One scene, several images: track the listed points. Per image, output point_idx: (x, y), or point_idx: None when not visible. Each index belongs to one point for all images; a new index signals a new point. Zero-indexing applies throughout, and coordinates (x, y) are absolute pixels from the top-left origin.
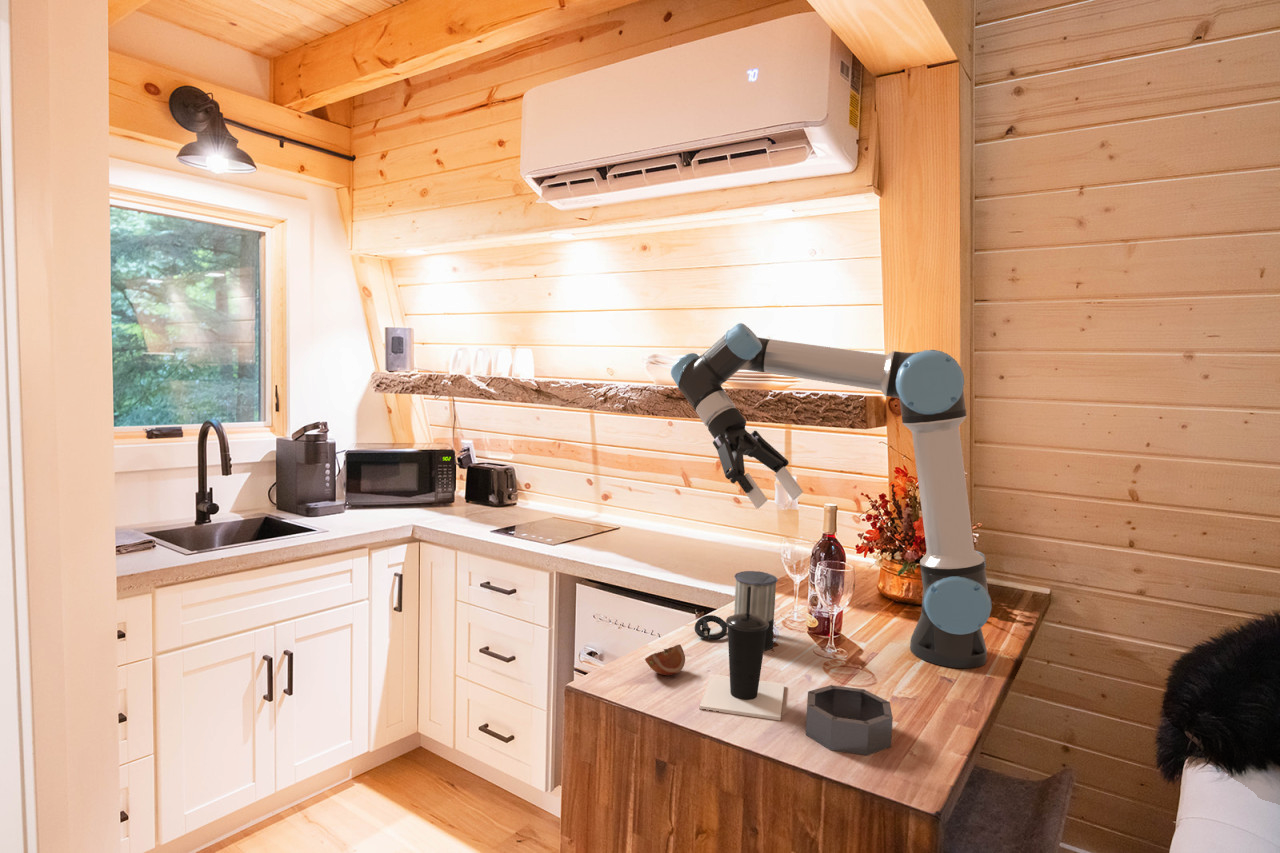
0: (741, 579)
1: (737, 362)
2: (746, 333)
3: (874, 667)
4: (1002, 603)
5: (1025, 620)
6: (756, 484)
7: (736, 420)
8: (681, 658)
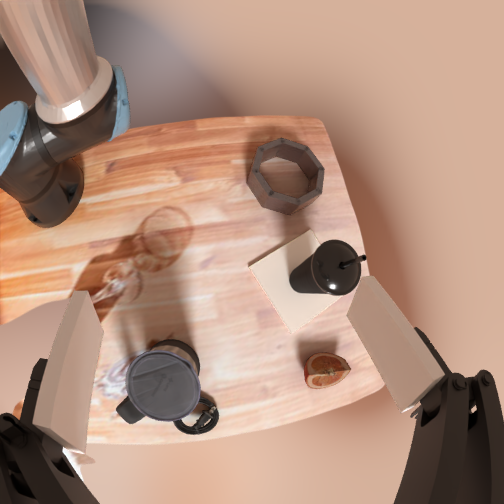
0: (194, 396)
1: None
2: None
3: (128, 225)
4: None
5: None
6: (402, 329)
7: None
8: (311, 362)
